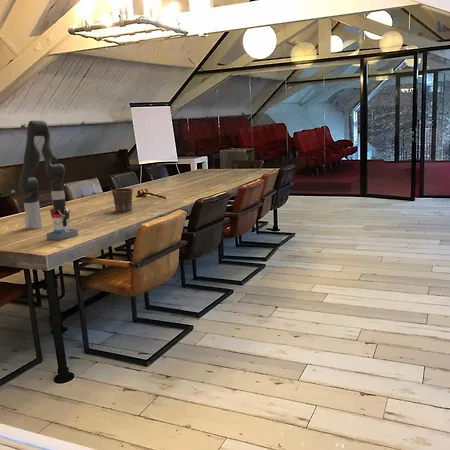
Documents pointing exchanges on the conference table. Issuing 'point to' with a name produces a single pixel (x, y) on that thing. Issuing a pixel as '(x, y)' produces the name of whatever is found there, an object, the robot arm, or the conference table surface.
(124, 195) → the plant pot
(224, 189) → the conference table surface
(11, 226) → the conference table surface
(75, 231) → the tray
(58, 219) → the ink box
